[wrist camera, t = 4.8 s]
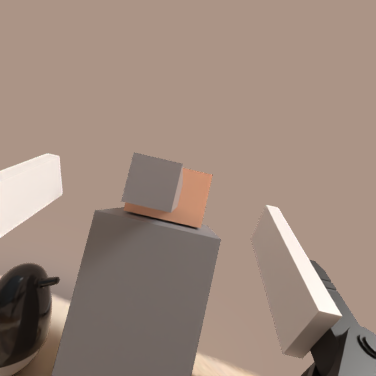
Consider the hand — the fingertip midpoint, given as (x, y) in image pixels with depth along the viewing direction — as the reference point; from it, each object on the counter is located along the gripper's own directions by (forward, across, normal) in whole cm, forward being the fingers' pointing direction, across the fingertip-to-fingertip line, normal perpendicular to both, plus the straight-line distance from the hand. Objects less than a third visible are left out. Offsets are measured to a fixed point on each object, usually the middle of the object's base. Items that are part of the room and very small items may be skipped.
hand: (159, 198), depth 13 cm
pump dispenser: (+1, -20, -36) cm, 41 cm away
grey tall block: (-2, -1, -34) cm, 34 cm away
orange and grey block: (+7, -1, -7) cm, 10 cm away
